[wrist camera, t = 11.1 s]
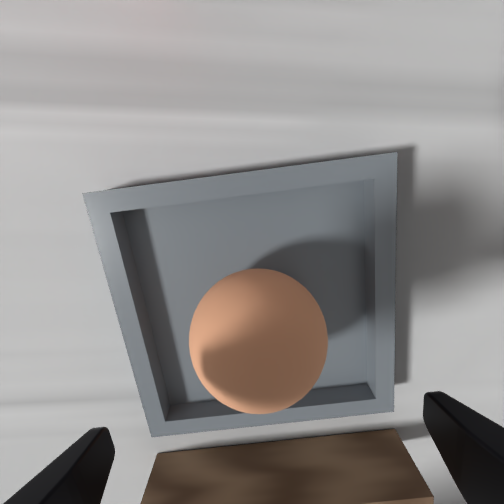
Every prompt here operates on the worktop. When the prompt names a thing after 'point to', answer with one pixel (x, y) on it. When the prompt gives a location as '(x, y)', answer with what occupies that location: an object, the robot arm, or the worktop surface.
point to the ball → (258, 341)
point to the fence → (292, 473)
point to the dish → (252, 257)
